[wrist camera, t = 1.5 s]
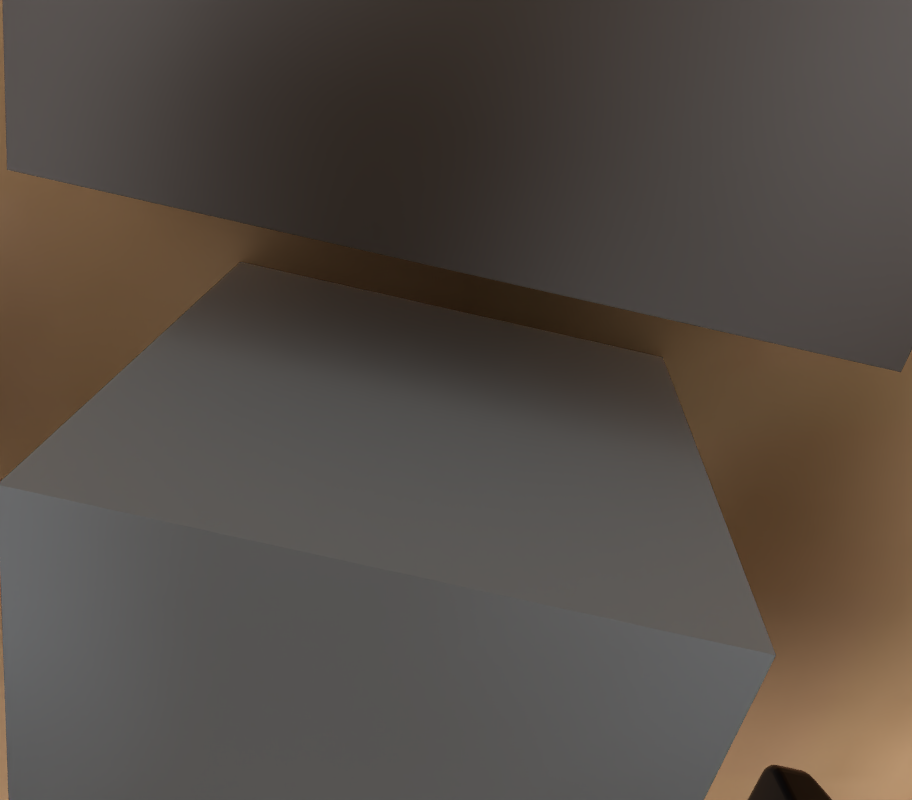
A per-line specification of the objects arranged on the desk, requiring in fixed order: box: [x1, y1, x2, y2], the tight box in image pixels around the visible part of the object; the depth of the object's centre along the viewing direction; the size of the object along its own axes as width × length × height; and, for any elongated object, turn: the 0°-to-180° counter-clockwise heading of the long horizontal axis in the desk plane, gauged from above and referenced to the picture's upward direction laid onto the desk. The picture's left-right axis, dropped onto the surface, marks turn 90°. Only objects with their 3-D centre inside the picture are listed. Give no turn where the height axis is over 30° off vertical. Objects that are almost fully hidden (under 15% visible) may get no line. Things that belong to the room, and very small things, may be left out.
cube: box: [0, 262, 776, 800], centre depth 10 cm, size 6×6×6 cm
